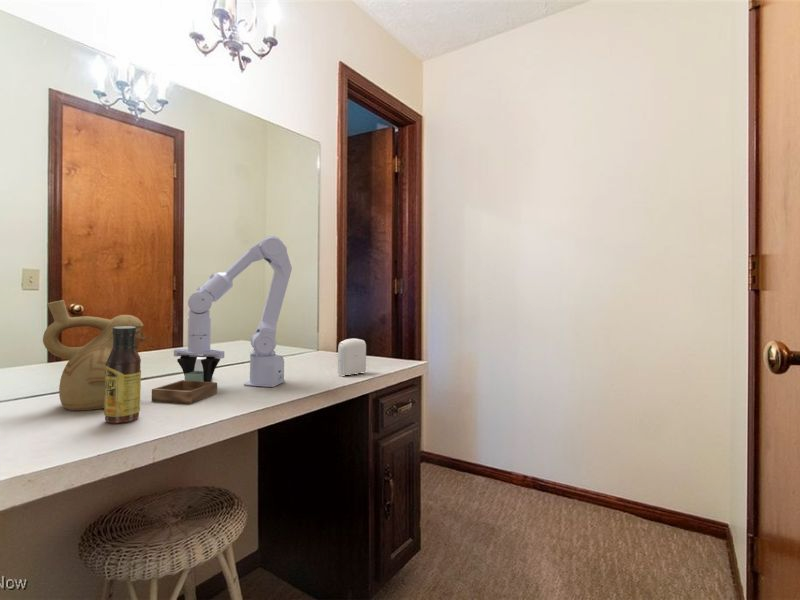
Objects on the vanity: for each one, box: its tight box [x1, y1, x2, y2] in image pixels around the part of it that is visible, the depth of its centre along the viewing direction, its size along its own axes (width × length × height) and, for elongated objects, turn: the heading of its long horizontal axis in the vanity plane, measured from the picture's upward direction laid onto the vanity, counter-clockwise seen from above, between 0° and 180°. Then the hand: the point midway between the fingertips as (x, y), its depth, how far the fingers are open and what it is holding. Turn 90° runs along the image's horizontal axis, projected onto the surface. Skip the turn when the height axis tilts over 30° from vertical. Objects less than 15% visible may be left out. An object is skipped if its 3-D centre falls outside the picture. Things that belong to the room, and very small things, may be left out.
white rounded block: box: [194, 357, 206, 371], centre depth 123 cm, size 7×7×7 cm
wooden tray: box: [151, 379, 218, 405], centre depth 102 cm, size 11×11×3 cm
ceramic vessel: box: [42, 299, 147, 411], centre depth 95 cm, size 17×20×25 cm
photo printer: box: [337, 337, 367, 376], centre depth 135 cm, size 10×4×12 cm, turn 133°
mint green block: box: [184, 371, 213, 382], centre depth 112 cm, size 5×5×4 cm
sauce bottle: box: [103, 326, 142, 425], centre depth 84 cm, size 7×6×20 cm
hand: (198, 382), depth 112 cm, fingers closed on mint green block, 5 cm apart
